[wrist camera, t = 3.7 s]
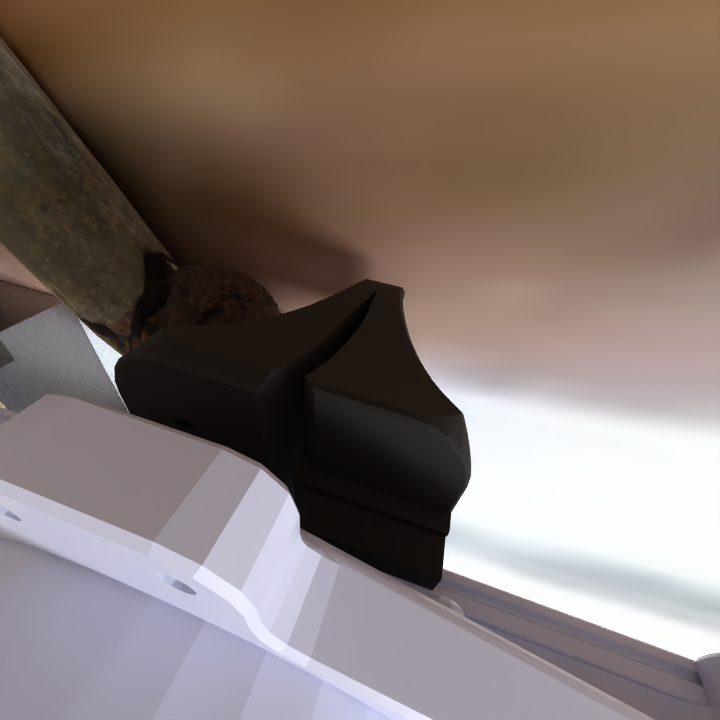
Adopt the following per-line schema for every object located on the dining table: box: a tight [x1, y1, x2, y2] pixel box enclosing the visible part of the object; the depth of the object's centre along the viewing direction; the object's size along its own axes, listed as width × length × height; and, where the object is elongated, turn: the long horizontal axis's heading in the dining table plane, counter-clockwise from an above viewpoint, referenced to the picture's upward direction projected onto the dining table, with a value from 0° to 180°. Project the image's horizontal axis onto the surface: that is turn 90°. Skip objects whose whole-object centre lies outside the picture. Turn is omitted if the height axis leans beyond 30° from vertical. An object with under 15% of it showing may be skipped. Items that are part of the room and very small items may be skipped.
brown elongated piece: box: [0, 37, 280, 355], centre depth 12 cm, size 18×7×6 cm, turn 33°
